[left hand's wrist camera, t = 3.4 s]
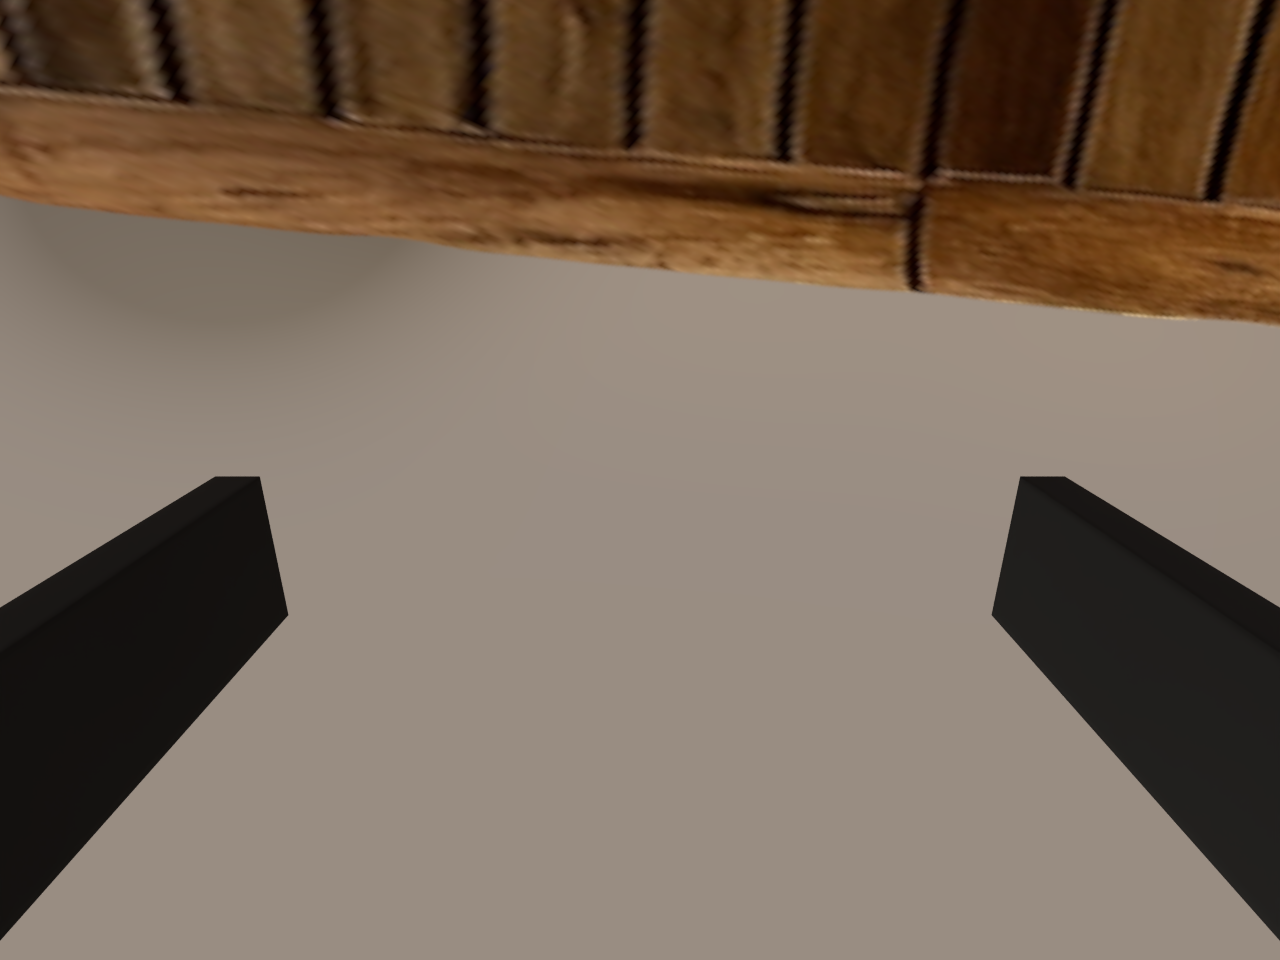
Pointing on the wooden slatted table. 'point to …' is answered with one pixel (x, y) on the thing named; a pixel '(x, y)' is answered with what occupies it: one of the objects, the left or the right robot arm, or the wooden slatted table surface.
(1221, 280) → the wooden slatted table surface
